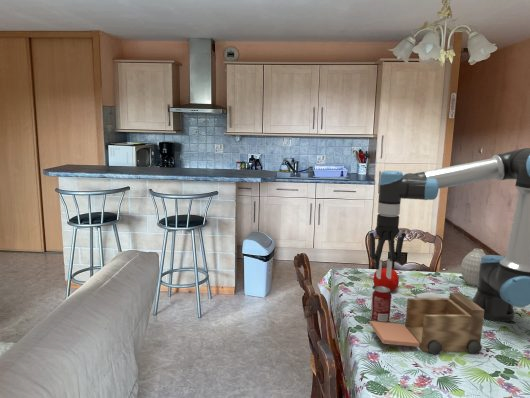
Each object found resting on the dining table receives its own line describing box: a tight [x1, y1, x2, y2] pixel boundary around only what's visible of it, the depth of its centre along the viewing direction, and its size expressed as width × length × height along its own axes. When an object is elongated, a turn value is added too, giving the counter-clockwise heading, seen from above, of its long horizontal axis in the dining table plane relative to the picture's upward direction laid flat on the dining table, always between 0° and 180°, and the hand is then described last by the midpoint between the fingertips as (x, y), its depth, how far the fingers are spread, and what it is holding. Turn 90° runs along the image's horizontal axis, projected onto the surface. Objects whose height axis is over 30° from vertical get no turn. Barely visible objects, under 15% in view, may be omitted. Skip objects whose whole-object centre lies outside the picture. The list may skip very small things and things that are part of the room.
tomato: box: [372, 267, 400, 292], centre depth 184 cm, size 11×12×9 cm
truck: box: [404, 292, 485, 355], centre depth 139 cm, size 19×17×14 cm
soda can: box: [370, 286, 392, 323], centre depth 153 cm, size 7×7×12 cm
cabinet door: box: [369, 320, 420, 348], centre depth 138 cm, size 2×13×12 cm
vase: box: [460, 248, 487, 287], centre depth 193 cm, size 13×13×17 cm
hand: (383, 277), depth 151 cm, fingers open, 3 cm apart
